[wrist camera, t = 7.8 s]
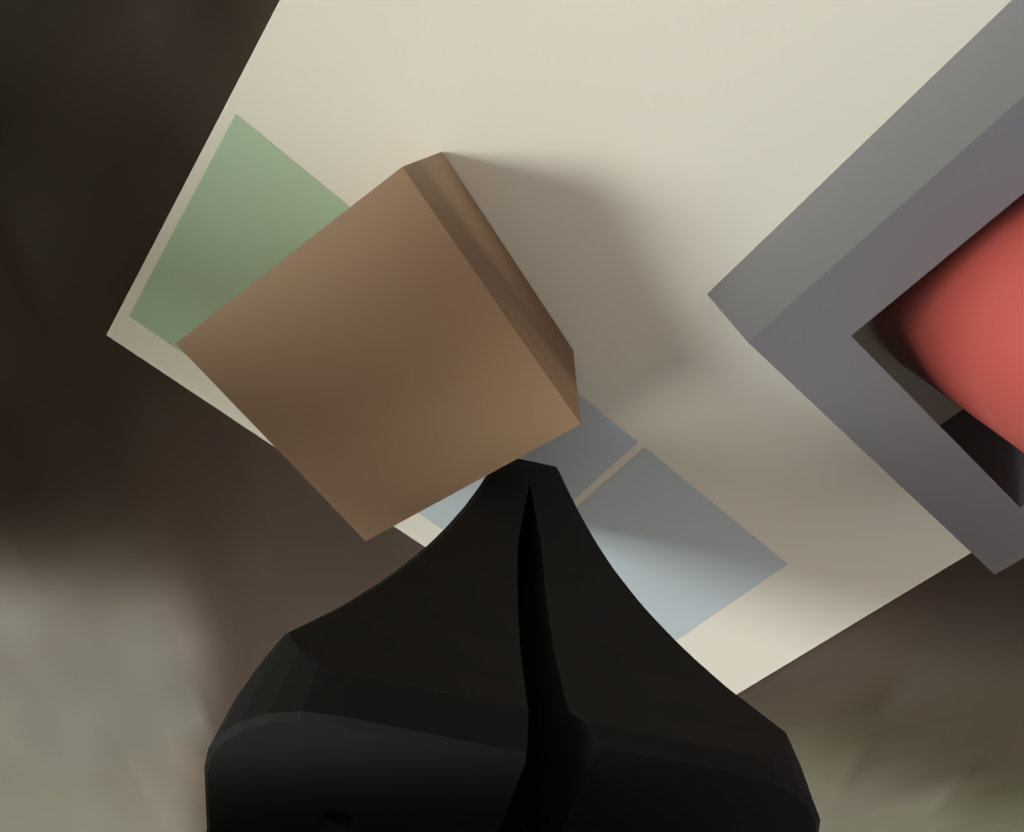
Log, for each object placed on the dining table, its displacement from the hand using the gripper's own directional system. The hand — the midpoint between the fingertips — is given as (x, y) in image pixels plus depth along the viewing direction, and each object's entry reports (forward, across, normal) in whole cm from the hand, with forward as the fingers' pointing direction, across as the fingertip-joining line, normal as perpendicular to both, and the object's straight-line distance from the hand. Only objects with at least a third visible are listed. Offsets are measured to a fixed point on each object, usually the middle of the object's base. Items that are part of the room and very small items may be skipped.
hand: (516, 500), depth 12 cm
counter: (+1, +3, -3) cm, 4 cm away
